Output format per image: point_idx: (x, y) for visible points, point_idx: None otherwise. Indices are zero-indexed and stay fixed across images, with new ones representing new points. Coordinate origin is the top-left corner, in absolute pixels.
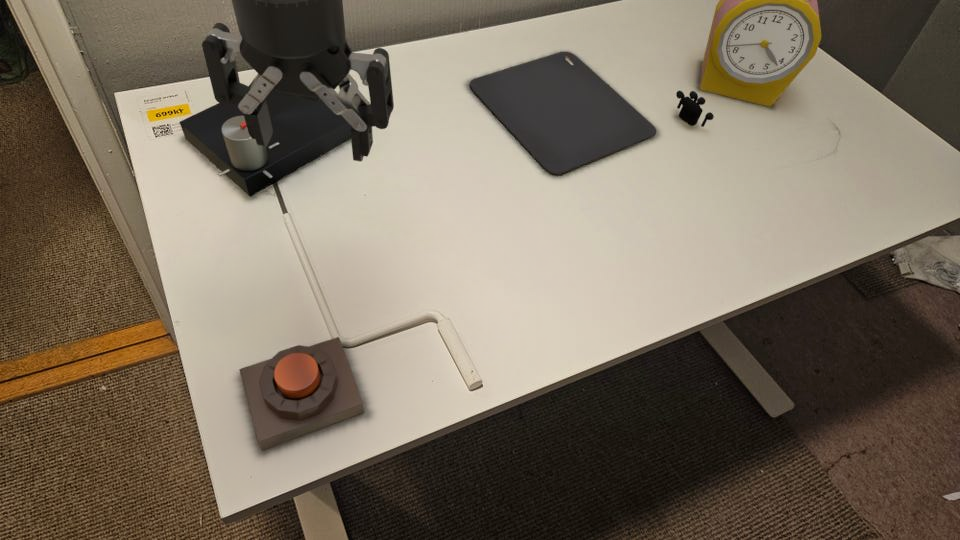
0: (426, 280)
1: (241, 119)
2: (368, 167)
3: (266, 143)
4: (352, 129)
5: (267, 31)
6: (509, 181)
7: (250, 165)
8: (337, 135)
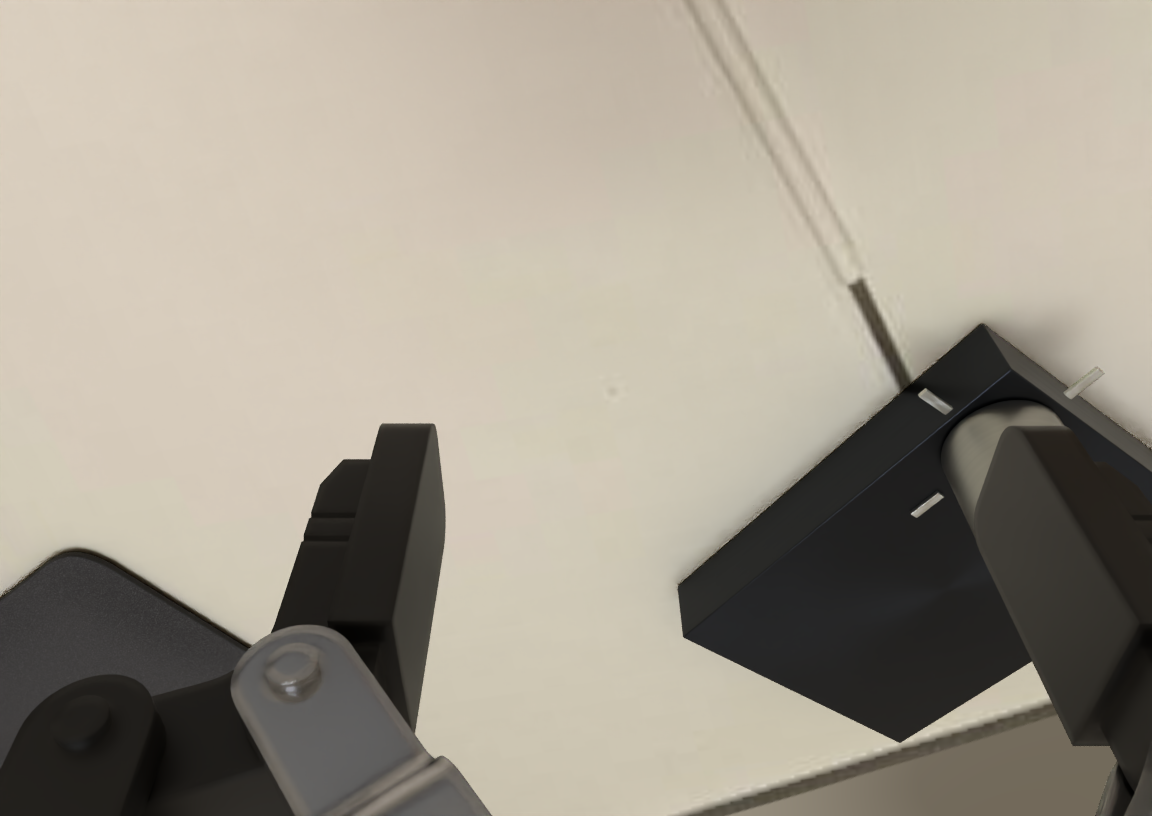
0: (310, 96)
1: None
2: (626, 485)
3: (1007, 446)
4: (379, 630)
5: None
6: (196, 509)
7: (998, 420)
8: (736, 568)
